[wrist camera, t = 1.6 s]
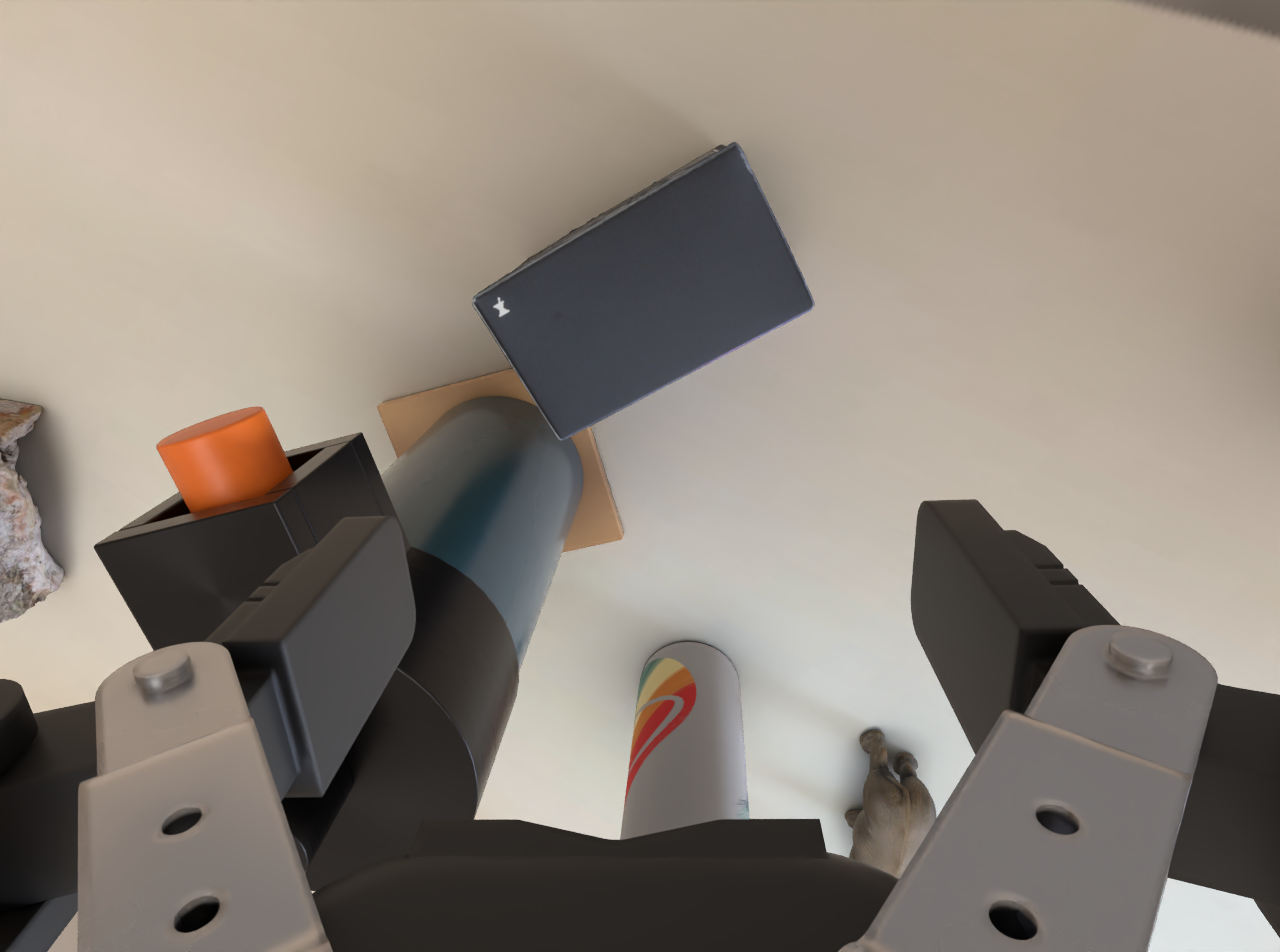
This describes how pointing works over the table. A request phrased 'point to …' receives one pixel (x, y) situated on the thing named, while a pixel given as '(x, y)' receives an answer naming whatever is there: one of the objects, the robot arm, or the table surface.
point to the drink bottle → (443, 593)
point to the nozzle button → (225, 459)
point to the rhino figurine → (890, 810)
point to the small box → (646, 292)
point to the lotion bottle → (686, 743)
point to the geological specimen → (20, 523)
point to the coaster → (423, 409)
